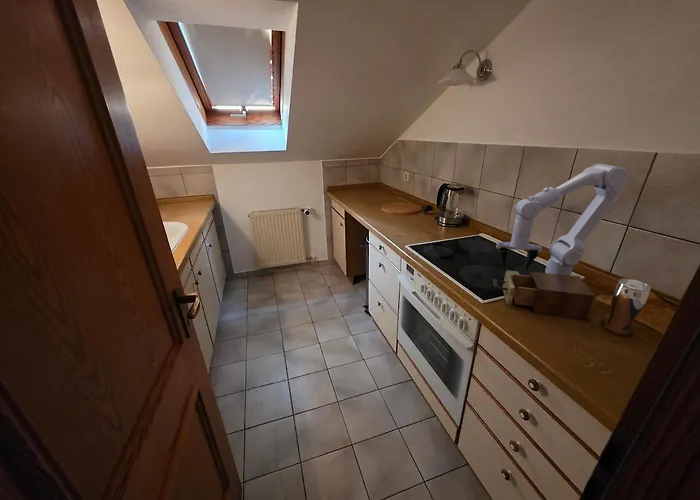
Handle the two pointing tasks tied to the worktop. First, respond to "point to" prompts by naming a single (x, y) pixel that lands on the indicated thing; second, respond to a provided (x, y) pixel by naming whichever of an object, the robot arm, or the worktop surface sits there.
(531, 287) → the drawer
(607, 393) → the worktop surface
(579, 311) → the cabinet
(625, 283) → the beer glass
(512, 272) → the block
